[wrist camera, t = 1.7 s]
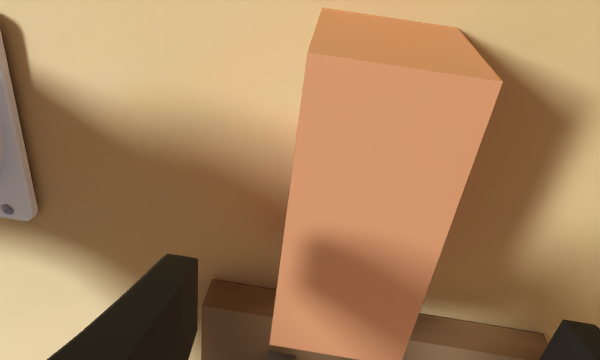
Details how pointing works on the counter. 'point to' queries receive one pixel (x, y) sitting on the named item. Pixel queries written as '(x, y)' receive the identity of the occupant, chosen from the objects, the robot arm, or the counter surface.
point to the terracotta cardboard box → (375, 179)
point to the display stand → (418, 356)
